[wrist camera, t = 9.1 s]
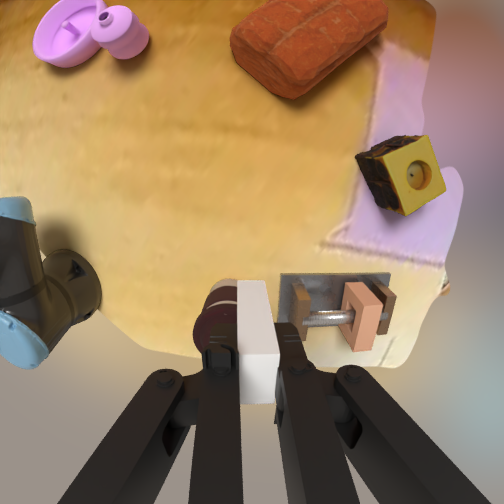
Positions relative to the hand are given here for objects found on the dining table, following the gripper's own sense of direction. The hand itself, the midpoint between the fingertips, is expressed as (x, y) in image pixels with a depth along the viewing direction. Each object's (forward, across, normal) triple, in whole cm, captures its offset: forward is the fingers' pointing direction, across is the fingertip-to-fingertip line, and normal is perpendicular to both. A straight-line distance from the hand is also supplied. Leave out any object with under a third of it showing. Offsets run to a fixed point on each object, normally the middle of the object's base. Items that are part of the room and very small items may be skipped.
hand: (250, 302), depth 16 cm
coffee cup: (+33, -2, -16) cm, 36 cm away
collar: (+30, +20, -17) cm, 40 cm away
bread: (+33, +10, +32) cm, 47 cm away
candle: (+33, +26, +8) cm, 42 cm away
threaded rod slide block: (+32, +18, -17) cm, 41 cm away
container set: (+33, -28, +34) cm, 55 cm away
